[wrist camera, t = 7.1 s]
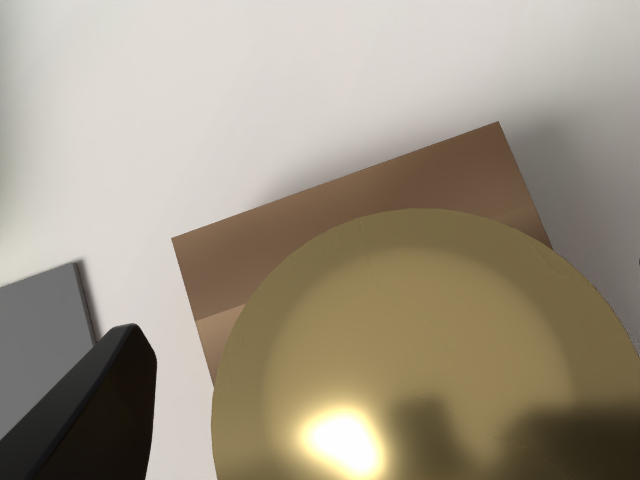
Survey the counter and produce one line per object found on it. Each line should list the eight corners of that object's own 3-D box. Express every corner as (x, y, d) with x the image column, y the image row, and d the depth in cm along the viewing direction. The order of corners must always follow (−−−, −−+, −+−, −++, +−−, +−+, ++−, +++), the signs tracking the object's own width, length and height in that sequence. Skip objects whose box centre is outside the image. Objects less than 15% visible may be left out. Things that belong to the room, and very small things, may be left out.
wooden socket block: (590, 443, 18) (650, 479, 14) (295, 537, 18) (273, 597, 15) (474, 159, 20) (498, 121, 16) (210, 253, 20) (171, 238, 17)
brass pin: (429, 406, 19) (621, 735, 4) (328, 381, 19) (163, 586, 4) (449, 304, 19) (686, 255, 4) (349, 282, 20) (266, 173, 5)
